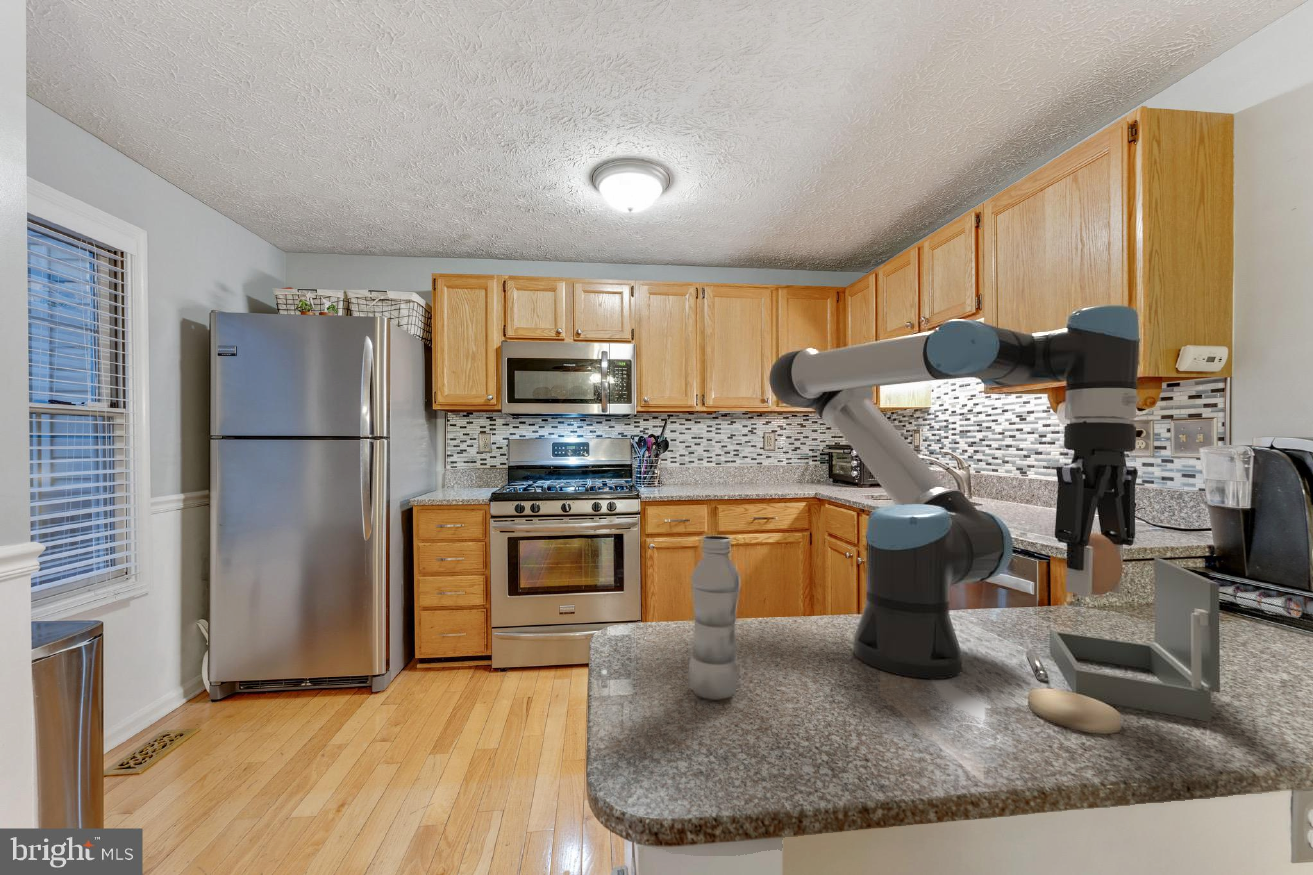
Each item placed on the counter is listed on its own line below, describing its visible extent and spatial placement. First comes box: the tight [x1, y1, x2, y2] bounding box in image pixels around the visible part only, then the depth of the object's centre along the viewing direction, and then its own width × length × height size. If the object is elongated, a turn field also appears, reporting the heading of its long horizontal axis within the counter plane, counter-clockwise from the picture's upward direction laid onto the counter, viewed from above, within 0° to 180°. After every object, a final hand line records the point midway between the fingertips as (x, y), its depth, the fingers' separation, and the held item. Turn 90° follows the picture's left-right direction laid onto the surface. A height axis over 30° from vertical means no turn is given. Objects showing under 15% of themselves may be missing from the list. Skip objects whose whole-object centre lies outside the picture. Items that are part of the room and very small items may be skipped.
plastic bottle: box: [688, 535, 741, 701], centre depth 69 cm, size 6×7×20 cm
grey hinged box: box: [1049, 557, 1221, 723], centre depth 76 cm, size 14×19×17 cm
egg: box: [1087, 532, 1123, 596], centre depth 73 cm, size 6×6×8 cm
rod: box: [1025, 649, 1049, 682], centre depth 80 cm, size 1×11×1 cm, turn 152°
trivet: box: [1027, 688, 1122, 735], centre depth 65 cm, size 9×9×1 cm
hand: (1093, 591), depth 73 cm, fingers closed on egg, 6 cm apart
